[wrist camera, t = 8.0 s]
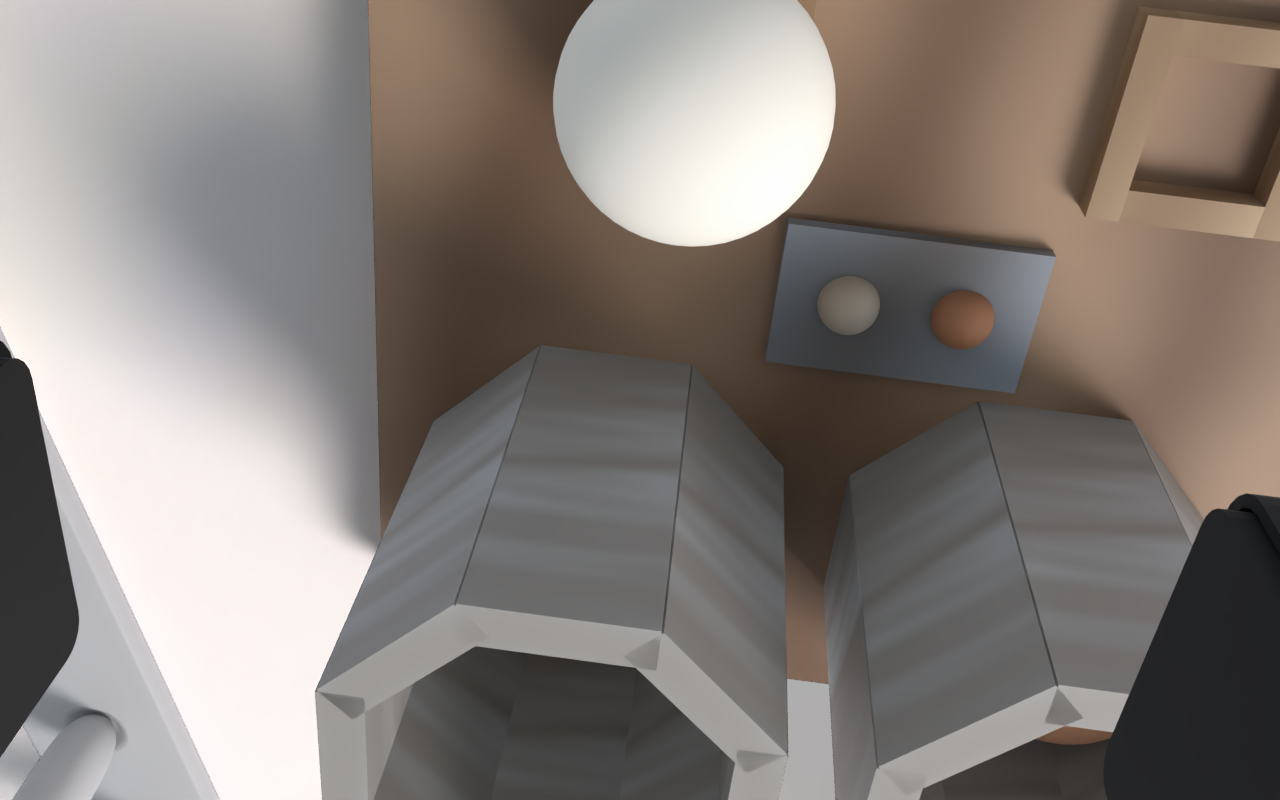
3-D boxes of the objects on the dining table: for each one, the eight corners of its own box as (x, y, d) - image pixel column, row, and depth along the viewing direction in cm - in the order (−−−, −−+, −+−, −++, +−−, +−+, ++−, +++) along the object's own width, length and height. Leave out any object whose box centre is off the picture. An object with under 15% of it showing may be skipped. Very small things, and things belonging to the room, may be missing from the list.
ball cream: (851, -54, 20) (871, 15, 16) (806, 199, 22) (814, 311, 19) (582, -86, 20) (539, -25, 16) (565, 169, 23) (525, 274, 19)
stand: (1533, -75, 21) (2049, 107, 13) (1187, 676, 31) (1348, 1068, 22) (395, -207, 22) (152, -117, 13) (403, 571, 31) (267, 914, 23)
